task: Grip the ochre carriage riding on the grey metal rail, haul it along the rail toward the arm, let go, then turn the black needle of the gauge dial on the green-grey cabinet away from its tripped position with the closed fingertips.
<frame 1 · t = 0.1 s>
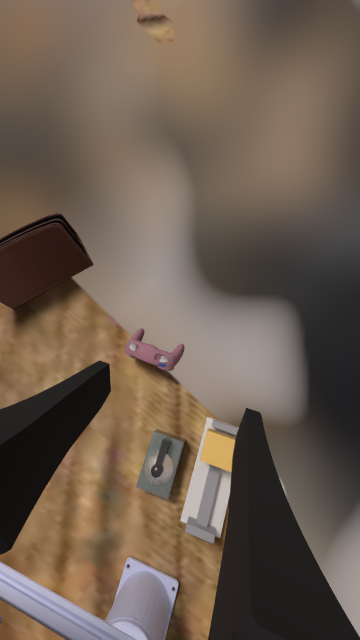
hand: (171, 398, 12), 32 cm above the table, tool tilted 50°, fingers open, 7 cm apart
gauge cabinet: (163, 459, 40), on the table
rail: (213, 471, 39), on the table
gauge needle: (161, 457, 36), point 4 cm above the table, hinge at 0.0°
letter holder: (48, 271, 56), on the table
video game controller: (157, 352, 46), on the table
carriage: (220, 448, 36), point 4 cm above the table, slide at 4.0 cm
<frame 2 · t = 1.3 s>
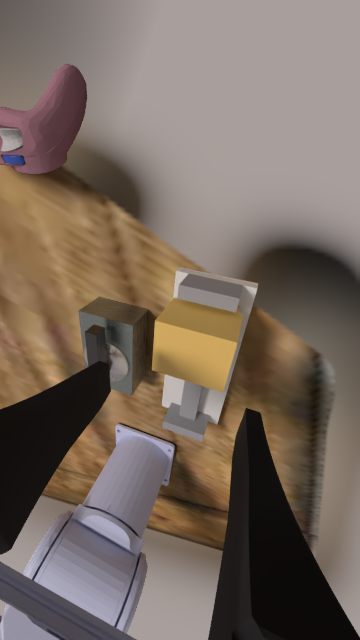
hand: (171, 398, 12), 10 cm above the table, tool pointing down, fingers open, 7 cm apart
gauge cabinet: (123, 338, 25), on the table
rail: (202, 352, 22), on the table
gauge needle: (97, 354, 20), point 4 cm above the table, hinge at 0.0°
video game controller: (36, 119, 18), on the table
carriage: (199, 337, 17), point 4 cm above the table, slide at 4.0 cm
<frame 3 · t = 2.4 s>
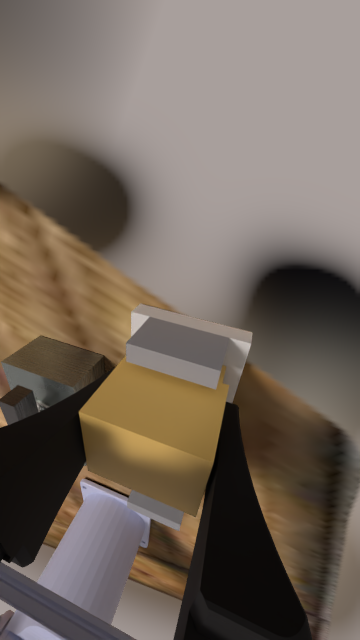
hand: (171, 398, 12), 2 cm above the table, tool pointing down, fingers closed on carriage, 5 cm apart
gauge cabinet: (77, 387, 19), on the table
rail: (178, 413, 16), on the table
gauge needle: (26, 424, 14), point 4 cm above the table, hinge at 0.0°
carriage: (163, 417, 11), point 4 cm above the table, slide at 4.0 cm, touching gripper
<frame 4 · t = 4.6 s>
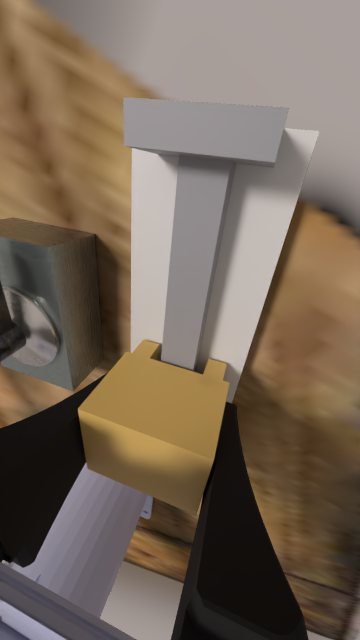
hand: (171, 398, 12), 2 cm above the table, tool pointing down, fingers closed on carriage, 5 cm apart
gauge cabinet: (63, 295, 15), on the table
rail: (193, 313, 12), on the table
carriage: (163, 415, 11), point 4 cm above the table, slide at -3.5 cm, touching gripper
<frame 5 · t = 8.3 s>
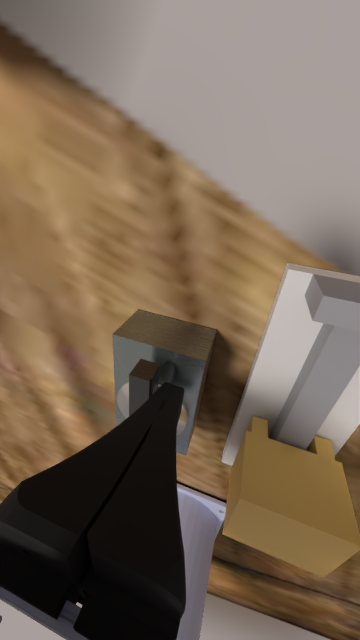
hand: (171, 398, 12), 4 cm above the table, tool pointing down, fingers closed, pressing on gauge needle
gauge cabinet: (170, 368, 17), on the table
rail: (297, 394, 15), on the table
gauge needle: (143, 405, 13), point 4 cm above the table, hinge at 0.0°, touching gripper
carriage: (281, 486, 13), point 4 cm above the table, slide at -3.5 cm
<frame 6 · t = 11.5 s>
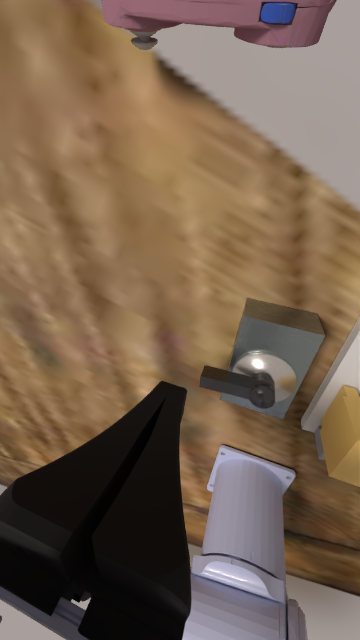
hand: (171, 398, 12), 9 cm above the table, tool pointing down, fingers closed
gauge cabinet: (265, 348, 20), on the table
gauge needle: (237, 384, 17), point 4 cm above the table, hinge at 93.9°
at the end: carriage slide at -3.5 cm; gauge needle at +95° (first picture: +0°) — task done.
